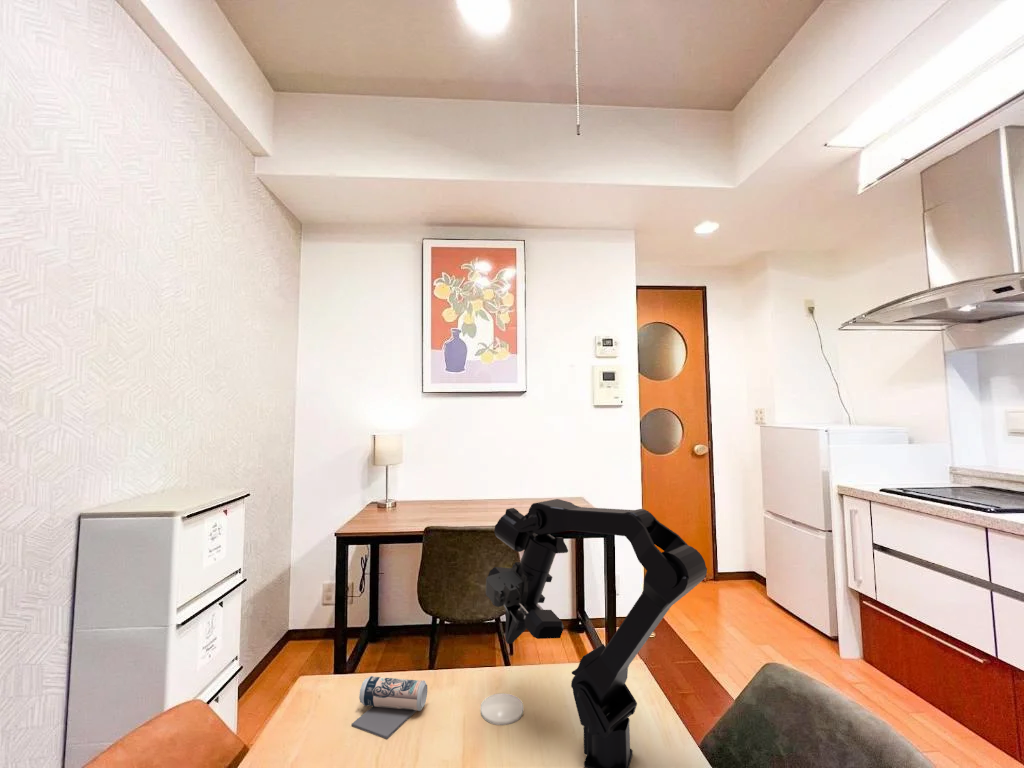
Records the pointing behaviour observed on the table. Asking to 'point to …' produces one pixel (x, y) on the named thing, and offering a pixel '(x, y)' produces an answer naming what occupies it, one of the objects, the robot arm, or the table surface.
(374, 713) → the mat
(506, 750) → the table surface
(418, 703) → the beer can
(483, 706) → the coaster
